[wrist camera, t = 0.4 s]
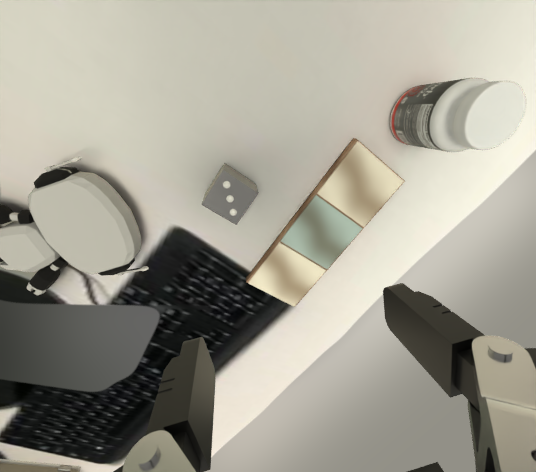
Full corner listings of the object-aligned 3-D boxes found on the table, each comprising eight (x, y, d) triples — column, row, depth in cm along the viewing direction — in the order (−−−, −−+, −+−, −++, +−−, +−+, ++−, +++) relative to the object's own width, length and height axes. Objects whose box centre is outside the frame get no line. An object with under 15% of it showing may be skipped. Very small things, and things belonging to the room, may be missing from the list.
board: (353, 138, 28) (357, 139, 28) (400, 179, 31) (405, 181, 30) (246, 278, 34) (246, 283, 33) (293, 303, 37) (295, 307, 36)
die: (224, 162, 28) (223, 170, 24) (255, 183, 29) (258, 193, 26) (205, 193, 29) (201, 204, 26) (236, 212, 30) (236, 225, 27)
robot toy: (53, 284, 33) (164, 250, 31) (25, 309, 29) (151, 272, 27) (-23, 193, 27) (106, 147, 26) (-72, 208, 23) (79, 155, 22)
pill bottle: (441, 80, 27) (544, 63, 18) (437, 137, 30) (525, 148, 21) (387, 92, 27) (464, 81, 18) (387, 149, 29) (455, 164, 20)
